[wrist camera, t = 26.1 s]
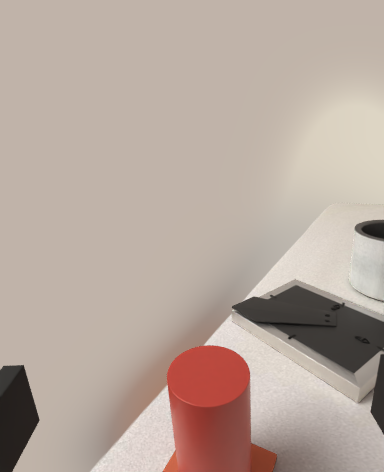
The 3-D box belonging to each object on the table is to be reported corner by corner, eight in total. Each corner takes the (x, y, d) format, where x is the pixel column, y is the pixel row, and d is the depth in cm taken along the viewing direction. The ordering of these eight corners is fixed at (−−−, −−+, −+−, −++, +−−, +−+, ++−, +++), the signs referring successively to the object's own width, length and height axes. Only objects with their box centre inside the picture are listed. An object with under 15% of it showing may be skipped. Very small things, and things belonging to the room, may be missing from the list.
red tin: (238, 536, 25) (234, 419, 21) (166, 499, 27) (151, 390, 24) (259, 460, 30) (259, 355, 26) (197, 436, 33) (189, 338, 29)
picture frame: (232, 321, 52) (358, 403, 36) (231, 306, 51) (360, 383, 35) (294, 289, 60) (419, 343, 44) (295, 275, 59) (423, 326, 43)
